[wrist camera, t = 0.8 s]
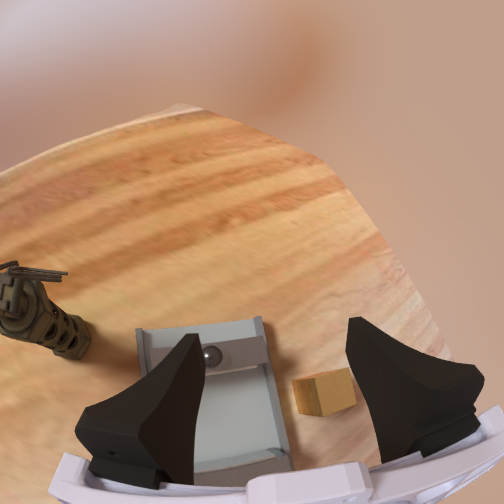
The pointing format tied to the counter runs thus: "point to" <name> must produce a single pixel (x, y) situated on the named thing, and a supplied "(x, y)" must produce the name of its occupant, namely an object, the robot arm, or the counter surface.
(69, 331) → the grenade
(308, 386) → the block
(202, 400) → the board
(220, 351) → the bar
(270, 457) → the fixed jaw
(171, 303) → the counter surface
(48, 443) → the counter surface
